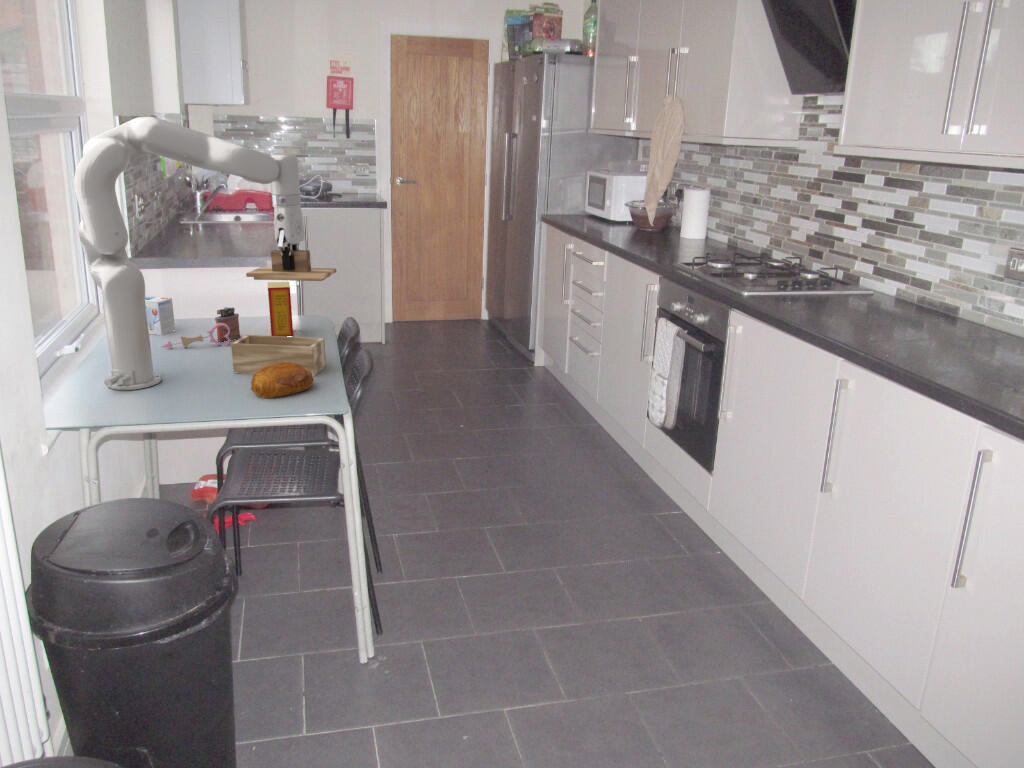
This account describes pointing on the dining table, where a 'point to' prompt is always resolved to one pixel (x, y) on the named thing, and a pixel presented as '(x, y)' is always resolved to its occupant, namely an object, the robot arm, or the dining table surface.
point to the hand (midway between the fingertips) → (291, 268)
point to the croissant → (281, 380)
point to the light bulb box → (159, 315)
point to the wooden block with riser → (298, 274)
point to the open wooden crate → (277, 352)
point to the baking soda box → (280, 309)
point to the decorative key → (200, 338)
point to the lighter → (230, 320)
